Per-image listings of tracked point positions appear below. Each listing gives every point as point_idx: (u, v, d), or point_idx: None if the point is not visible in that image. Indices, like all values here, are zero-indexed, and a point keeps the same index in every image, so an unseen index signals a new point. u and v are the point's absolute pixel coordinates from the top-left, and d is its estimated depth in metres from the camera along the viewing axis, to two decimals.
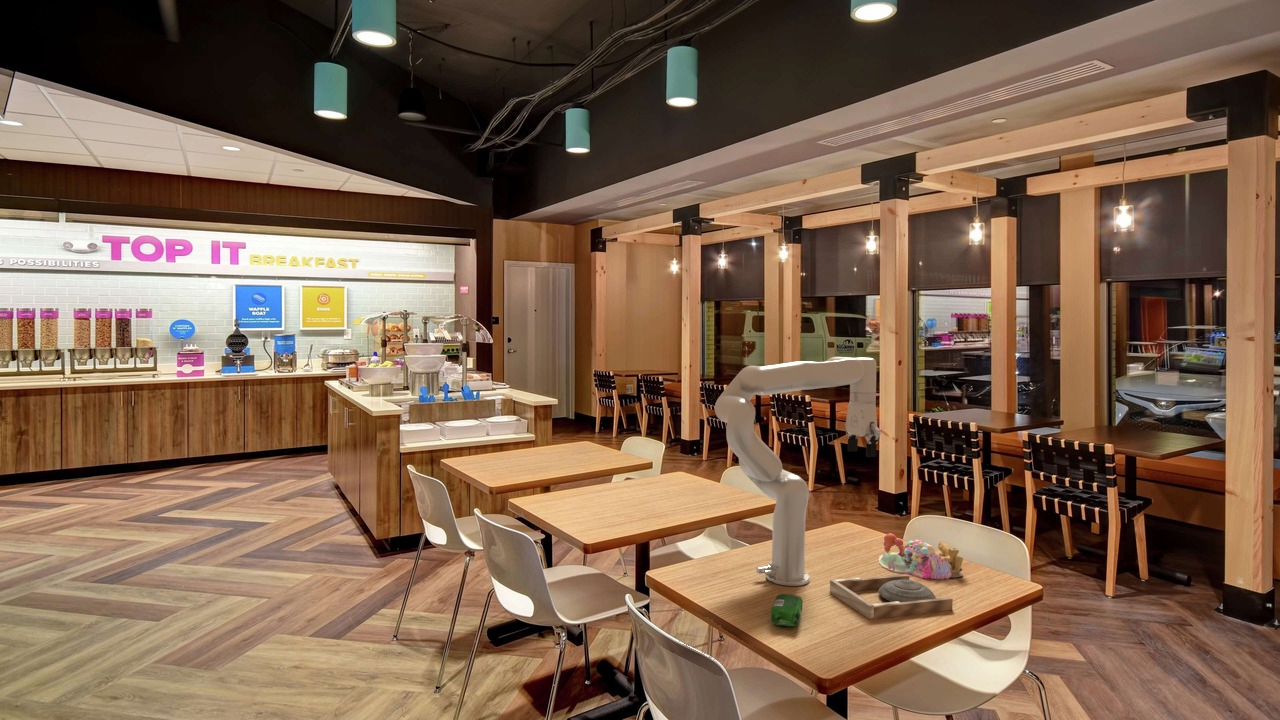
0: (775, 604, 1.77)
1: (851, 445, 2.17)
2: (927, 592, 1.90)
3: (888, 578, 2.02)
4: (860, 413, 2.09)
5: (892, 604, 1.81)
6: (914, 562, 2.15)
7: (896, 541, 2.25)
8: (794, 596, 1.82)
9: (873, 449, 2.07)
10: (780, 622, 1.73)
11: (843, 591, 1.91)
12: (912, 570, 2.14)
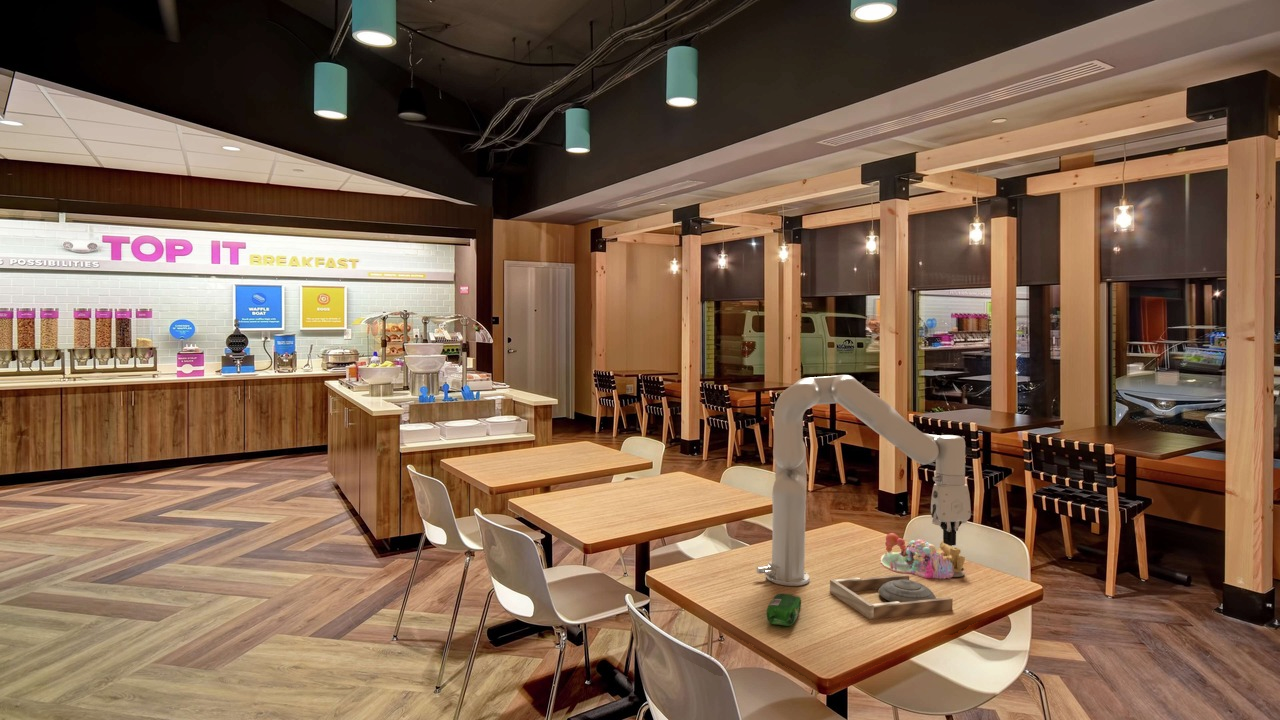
0: (771, 603, 1.77)
1: None
2: (927, 592, 1.90)
3: (888, 578, 2.02)
4: (965, 496, 1.94)
5: (892, 604, 1.81)
6: (916, 562, 2.16)
7: (898, 541, 2.25)
8: (792, 596, 1.82)
9: None
10: (775, 621, 1.73)
11: (843, 591, 1.91)
12: (914, 570, 2.14)
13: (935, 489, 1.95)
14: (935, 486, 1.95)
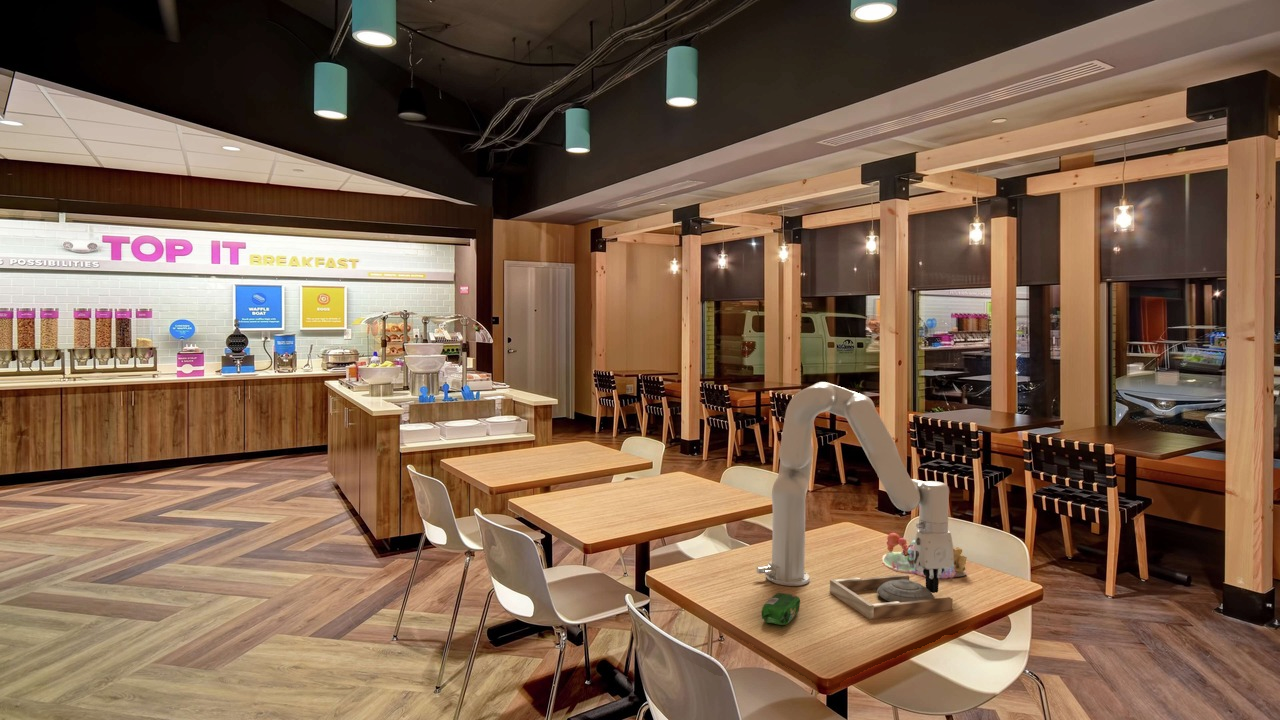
0: (767, 602, 1.78)
1: None
2: (925, 592, 1.90)
3: (888, 578, 2.02)
4: (948, 543, 1.93)
5: (892, 604, 1.81)
6: None
7: (899, 540, 2.25)
8: (791, 596, 1.82)
9: None
10: (769, 619, 1.74)
11: (843, 591, 1.91)
12: None
13: (918, 536, 1.94)
14: (918, 533, 1.94)
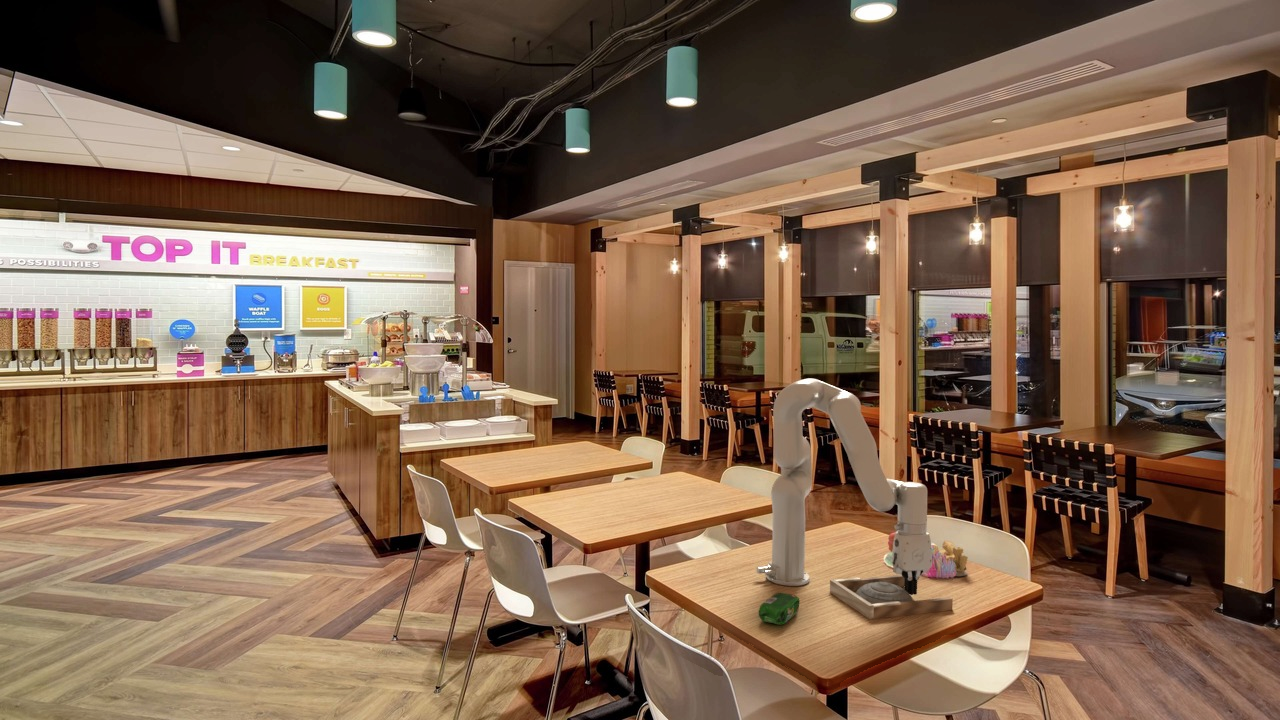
0: (765, 601, 1.79)
1: None
2: (904, 594, 1.88)
3: (888, 578, 2.02)
4: (927, 544, 1.91)
5: (892, 604, 1.81)
6: None
7: None
8: (790, 596, 1.82)
9: None
10: (766, 618, 1.75)
11: (843, 591, 1.91)
12: None
13: (896, 537, 1.92)
14: (896, 534, 1.93)
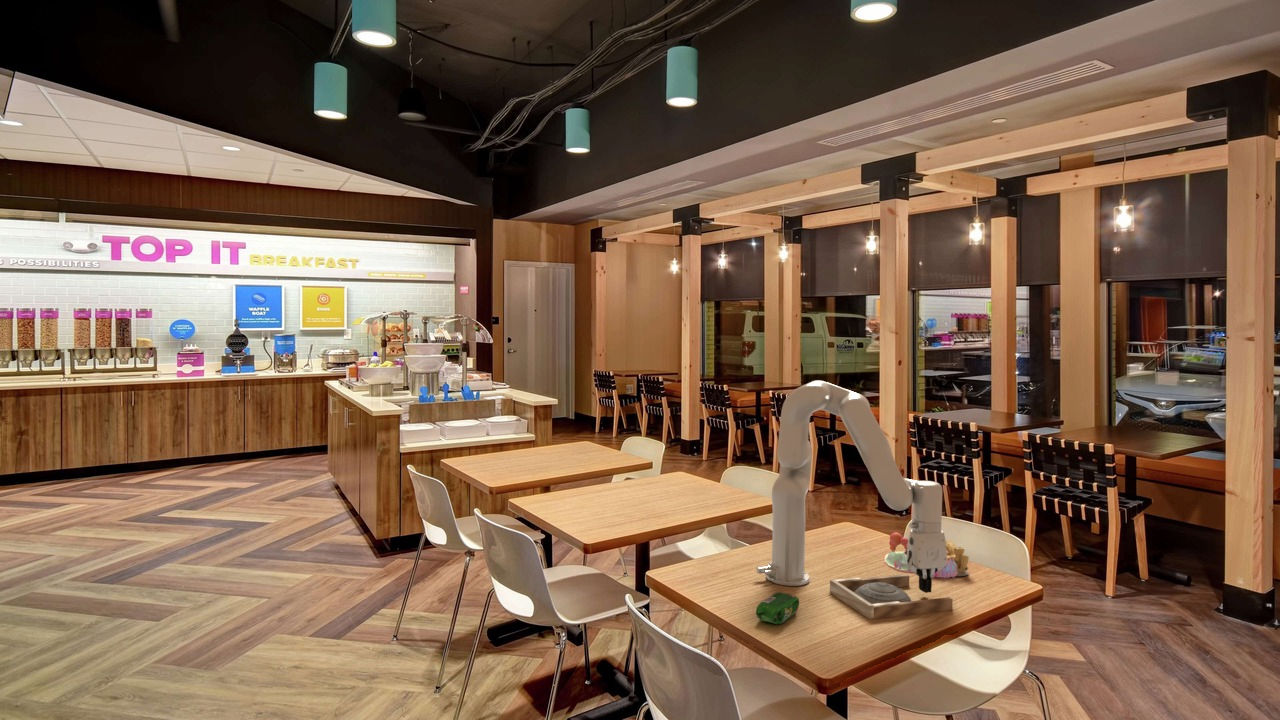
0: (764, 600, 1.79)
1: None
2: (902, 595, 1.88)
3: (888, 578, 2.02)
4: (942, 543, 1.93)
5: (892, 604, 1.81)
6: None
7: (902, 540, 2.26)
8: (789, 596, 1.82)
9: None
10: (763, 618, 1.75)
11: (843, 591, 1.91)
12: None
13: (911, 536, 1.93)
14: (911, 532, 1.94)
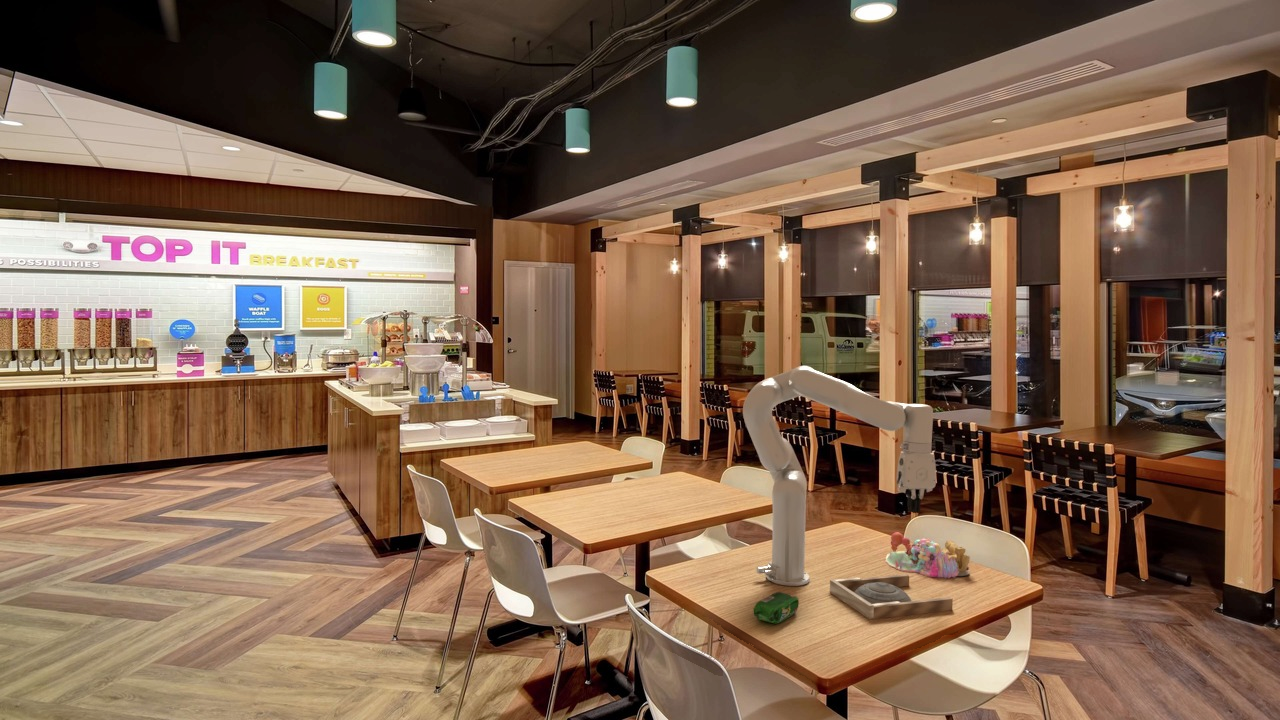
0: None
1: None
2: (902, 595, 1.88)
3: (888, 578, 2.02)
4: (931, 464, 1.96)
5: (892, 604, 1.81)
6: (921, 561, 2.17)
7: (903, 540, 2.26)
8: (788, 595, 1.82)
9: None
10: (760, 617, 1.76)
11: (843, 591, 1.91)
12: (919, 569, 2.15)
13: (901, 456, 1.97)
14: (901, 454, 1.97)
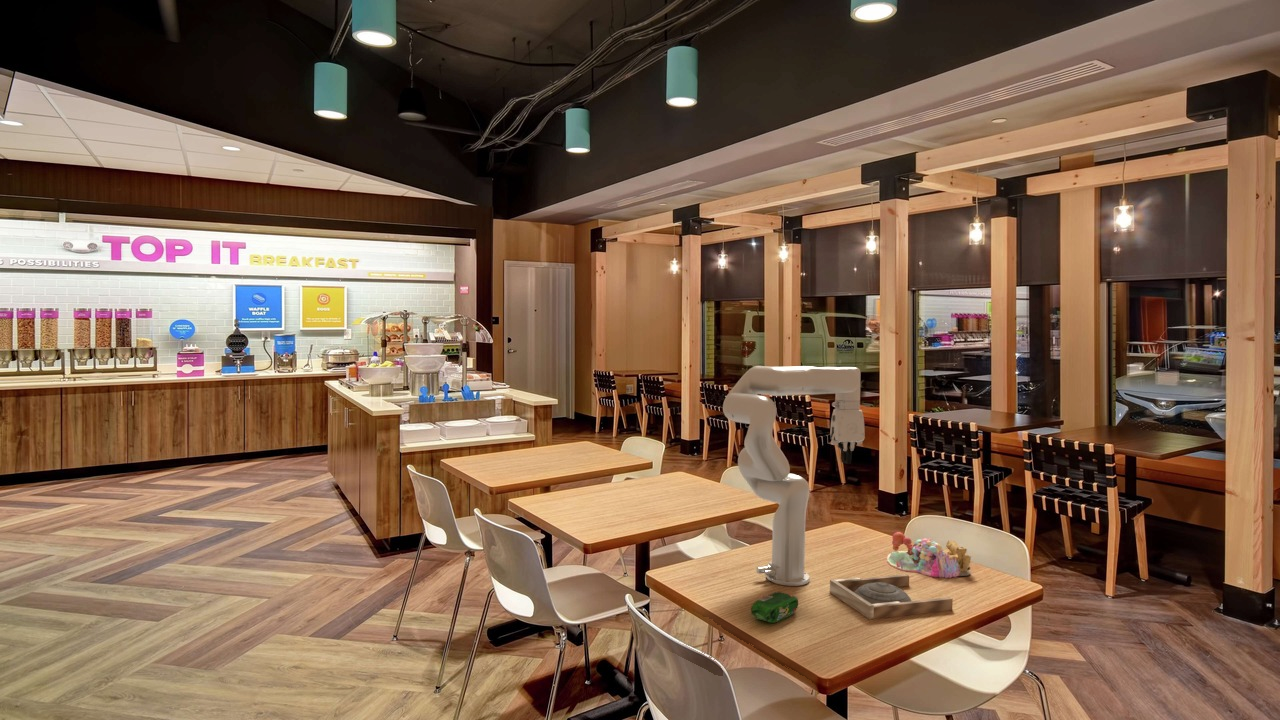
0: (760, 599, 1.80)
1: None
2: (902, 595, 1.88)
3: (888, 578, 2.02)
4: (860, 419, 2.21)
5: (892, 604, 1.81)
6: (922, 560, 2.17)
7: (904, 540, 2.26)
8: (787, 595, 1.82)
9: None
10: (757, 615, 1.77)
11: (843, 591, 1.91)
12: (920, 568, 2.15)
13: (834, 413, 2.22)
14: (834, 411, 2.22)
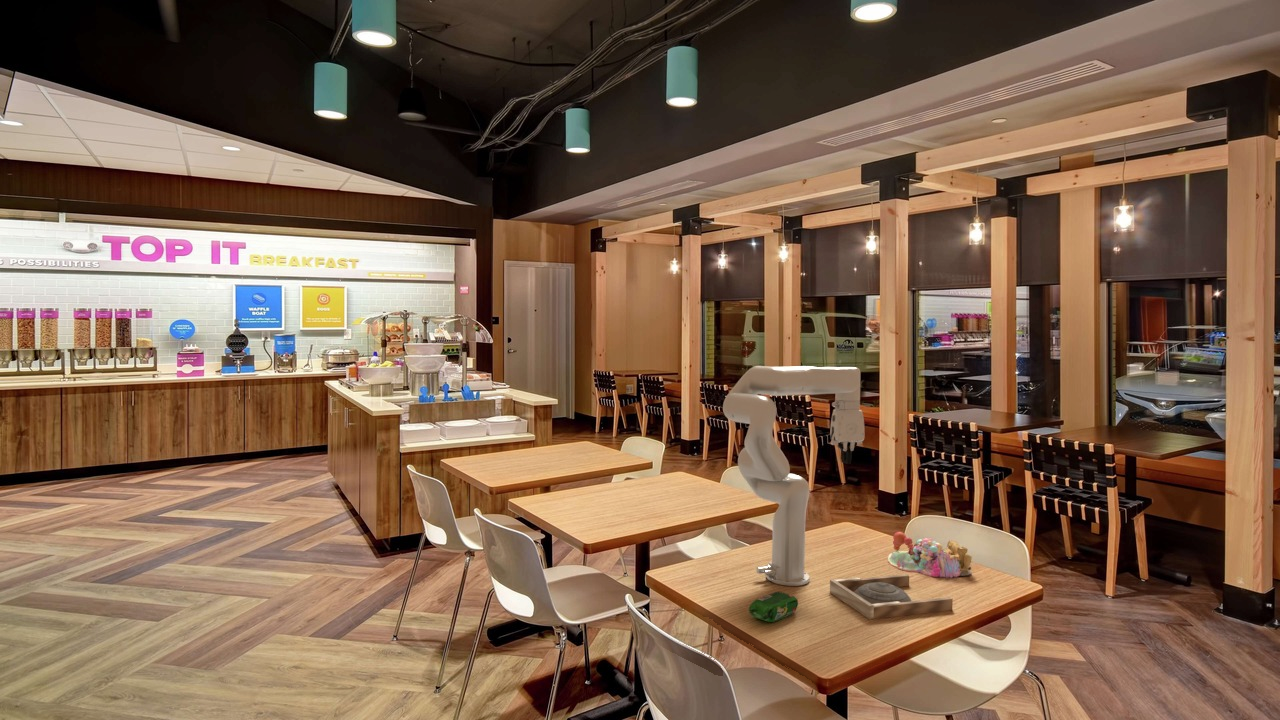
0: (759, 598, 1.81)
1: None
2: (902, 595, 1.88)
3: (888, 578, 2.02)
4: (860, 419, 2.21)
5: (892, 604, 1.81)
6: (923, 560, 2.17)
7: (905, 540, 2.26)
8: (787, 595, 1.82)
9: None
10: (755, 615, 1.77)
11: (843, 591, 1.91)
12: (921, 568, 2.15)
13: (833, 414, 2.22)
14: (834, 411, 2.22)
